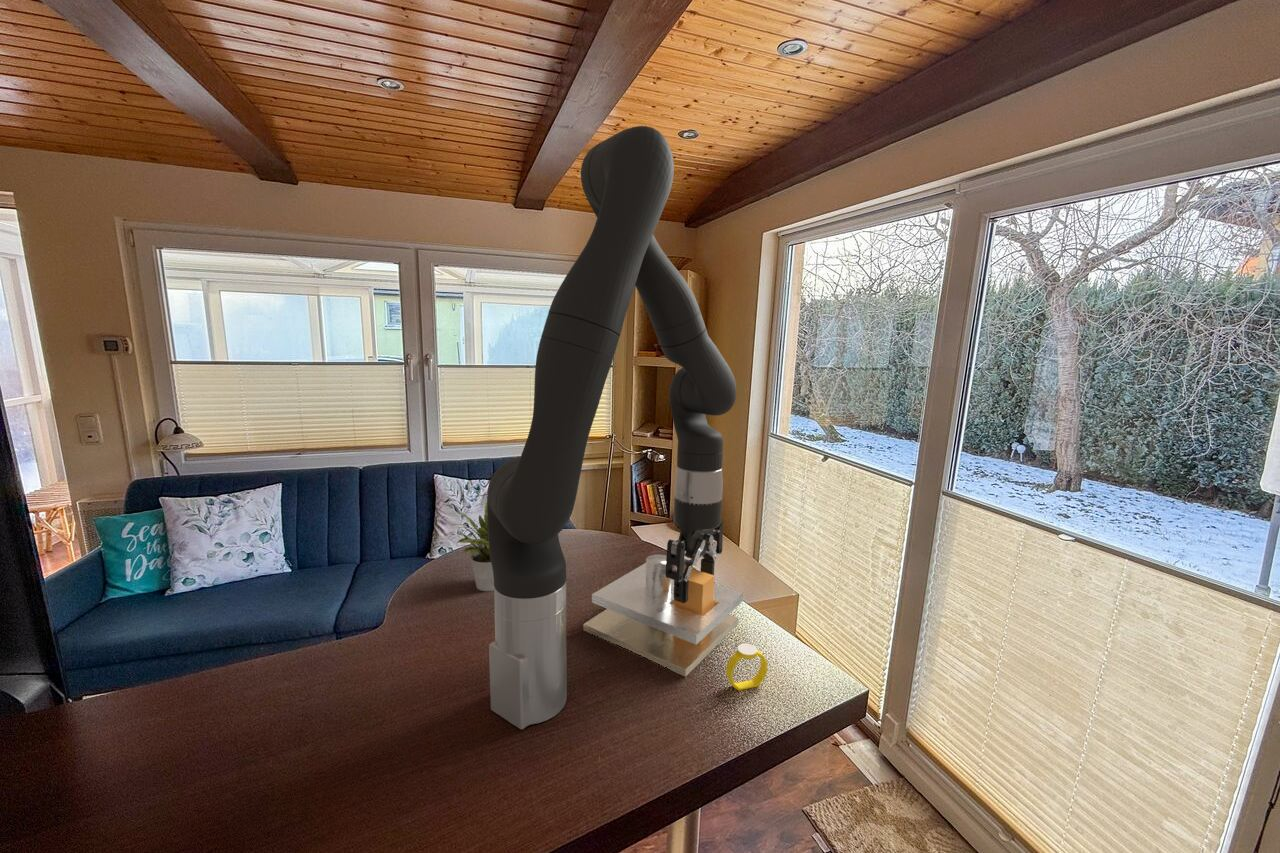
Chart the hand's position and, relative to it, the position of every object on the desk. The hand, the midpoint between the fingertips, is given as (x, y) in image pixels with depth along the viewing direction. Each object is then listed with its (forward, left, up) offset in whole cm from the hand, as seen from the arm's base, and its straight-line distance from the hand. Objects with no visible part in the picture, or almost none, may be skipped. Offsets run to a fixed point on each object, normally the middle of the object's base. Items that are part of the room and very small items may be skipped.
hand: (694, 590), depth 83 cm
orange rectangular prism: (0, 0, -7) cm, 7 cm away
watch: (-6, -12, -9) cm, 16 cm away
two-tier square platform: (0, +6, -9) cm, 10 cm away
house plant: (-8, +43, -9) cm, 45 cm away
